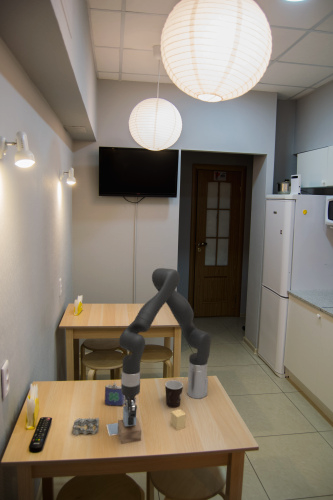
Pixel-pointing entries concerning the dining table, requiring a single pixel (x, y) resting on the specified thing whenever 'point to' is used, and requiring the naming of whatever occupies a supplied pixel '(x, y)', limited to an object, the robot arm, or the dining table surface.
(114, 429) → the tile
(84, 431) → the egg carton
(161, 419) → the dining table surface
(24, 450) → the dining table surface
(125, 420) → the blue block
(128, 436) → the base block
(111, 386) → the flask
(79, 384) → the dining table surface
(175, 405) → the coffee mug
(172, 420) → the ochre block
